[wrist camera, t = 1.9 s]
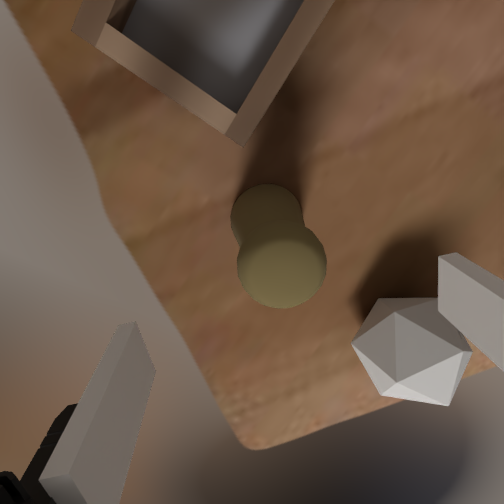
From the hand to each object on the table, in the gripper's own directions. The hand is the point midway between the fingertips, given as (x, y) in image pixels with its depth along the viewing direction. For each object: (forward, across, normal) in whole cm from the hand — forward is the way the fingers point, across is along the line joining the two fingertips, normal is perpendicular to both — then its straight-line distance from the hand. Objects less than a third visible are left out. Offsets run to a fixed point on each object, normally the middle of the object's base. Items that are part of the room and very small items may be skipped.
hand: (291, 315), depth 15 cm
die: (+15, -10, +13) cm, 22 cm away
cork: (+15, 0, 0) cm, 15 cm away
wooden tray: (+15, 0, -15) cm, 21 cm away
